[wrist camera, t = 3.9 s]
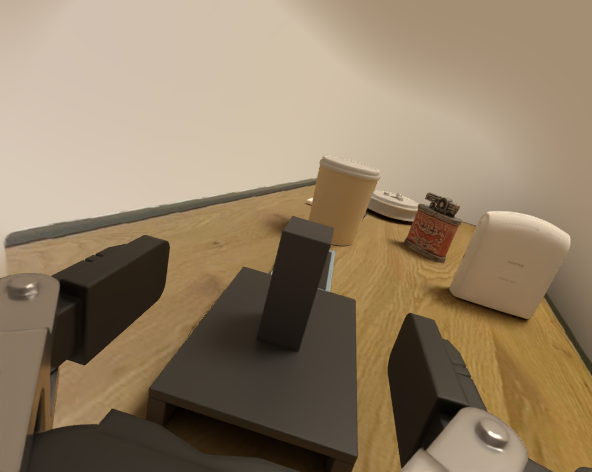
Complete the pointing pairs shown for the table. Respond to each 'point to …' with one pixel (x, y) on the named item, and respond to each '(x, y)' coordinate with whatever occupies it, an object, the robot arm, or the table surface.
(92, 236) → the table surface
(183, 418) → the table surface
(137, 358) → the table surface
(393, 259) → the table surface
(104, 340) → the robot arm
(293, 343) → the cover
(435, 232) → the lighter
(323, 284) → the phone
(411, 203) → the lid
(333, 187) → the coffee cup
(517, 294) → the photo printer
